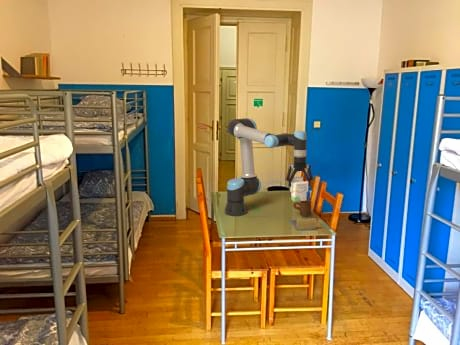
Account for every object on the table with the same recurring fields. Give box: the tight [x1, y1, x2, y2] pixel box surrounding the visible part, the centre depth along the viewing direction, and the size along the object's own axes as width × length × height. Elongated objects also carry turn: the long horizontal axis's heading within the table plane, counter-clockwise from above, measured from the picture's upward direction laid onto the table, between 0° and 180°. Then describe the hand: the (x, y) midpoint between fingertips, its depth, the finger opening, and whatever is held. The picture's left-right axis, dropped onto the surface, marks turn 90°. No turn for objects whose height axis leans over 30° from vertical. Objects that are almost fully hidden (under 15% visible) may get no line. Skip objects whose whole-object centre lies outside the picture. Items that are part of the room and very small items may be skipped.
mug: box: [292, 200, 312, 218], centre depth 275 cm, size 12×8×9 cm, turn 84°
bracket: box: [288, 217, 317, 231], centre depth 253 cm, size 12×18×7 cm, turn 9°
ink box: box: [290, 176, 308, 203], centre depth 253 cm, size 9×5×15 cm, turn 112°
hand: (299, 191), depth 254 cm, fingers closed on ink box, 9 cm apart
